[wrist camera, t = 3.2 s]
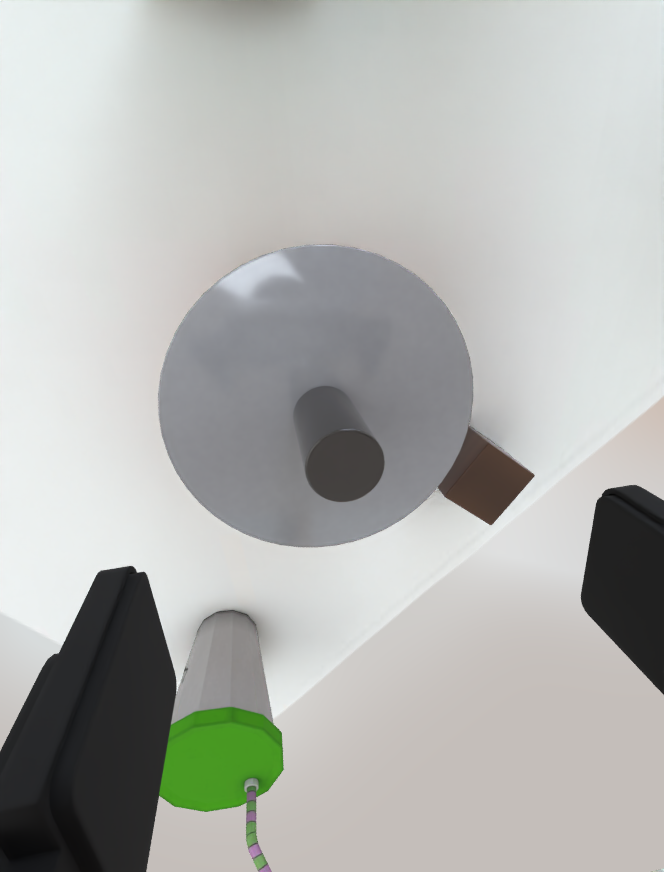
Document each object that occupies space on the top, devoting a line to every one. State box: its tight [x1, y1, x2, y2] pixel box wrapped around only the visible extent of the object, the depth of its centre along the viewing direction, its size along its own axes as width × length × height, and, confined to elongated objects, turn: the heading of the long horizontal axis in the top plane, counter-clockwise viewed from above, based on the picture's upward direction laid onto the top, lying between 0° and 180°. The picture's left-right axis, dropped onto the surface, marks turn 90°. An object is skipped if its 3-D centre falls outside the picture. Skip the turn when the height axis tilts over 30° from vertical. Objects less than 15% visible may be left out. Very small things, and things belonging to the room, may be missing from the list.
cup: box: [159, 611, 283, 872], centre depth 29 cm, size 8×8×15 cm
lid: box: [158, 245, 473, 547], centre depth 17 cm, size 13×13×6 cm
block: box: [438, 426, 535, 525], centre depth 31 cm, size 4×4×4 cm
